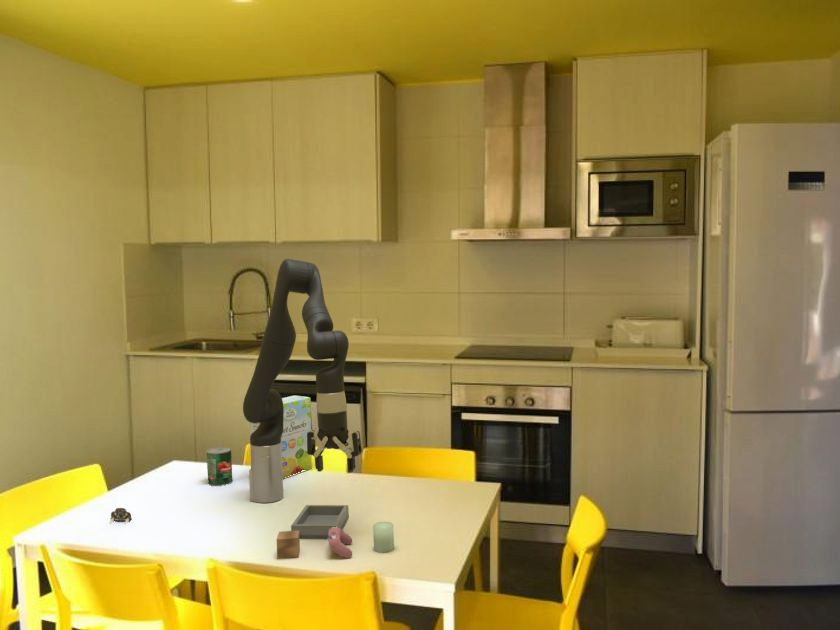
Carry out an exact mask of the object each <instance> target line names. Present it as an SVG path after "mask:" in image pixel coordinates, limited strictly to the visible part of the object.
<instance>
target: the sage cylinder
mask: <svg viewBox="0 0 840 630" xmlns="http://www.w3.org/2000/svg"><path fill="white" fill-rule="evenodd" d="M372 531H373V532H372V533H373V534H372V535H373V536H372V539H373V551H374V552H376V553H379V554H386V553H391V552H393V551H394V550H395V540H394V537H395V536H394V531H395V530H394V524H393V523H392V522H390V521H379V522H375V523H374V524H373V525H372Z"/></svg>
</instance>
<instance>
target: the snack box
mask: <svg viewBox="0 0 840 630" xmlns="http://www.w3.org/2000/svg"><path fill="white" fill-rule="evenodd" d="M281 398H282V401H283V409H284V415H283V433H282V436H281V449H282V474H283V478H285V477H287V478H289V477H288V476H290V475H293V474H296V473H298V472H301V471H302V470H307V471H309V470H312V469H313V467H312V466H313V465H312V461H313V460H312V455H308V453H307V433H308V432H310V431H312V409H311V407H312V406H311V404H312V403H311V402H312V400H311V397H309V396H305V395H304V396H303V395H302V396H301V395H290V396H287V397H286V396H285V397H281ZM249 424H250V433H249V434H250V436H251V434H252V433H253V432H254V431H255V430H256V429H257V428H258V426H259V425H260V423H250V422H249ZM250 436H249V437H250ZM296 475H297V474H296ZM293 476H294V475H293ZM290 477H291V476H290ZM285 479H286V478H285Z"/></svg>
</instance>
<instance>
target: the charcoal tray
mask: <svg viewBox="0 0 840 630" xmlns="http://www.w3.org/2000/svg"><path fill="white" fill-rule="evenodd" d="M349 510H350V509H349V504H306V505H305V506H304V507H303V509H302V510H301V512H300V513H299V514H298V515H297V516H296V518H295V520H294V521H293V522H292V523H291V525H290V529H291V530H290V531H299V539H301V540H304V539H306V540H328V538H329V535H328V531H329V529H331V528H332V527H336V526H337V527H338V528H340V529H341V530H342V531H343V530H344V527H345V525H346V523H347V521H348V520H349V518H350V517H349V516H350V515H349V513H350V512H349Z"/></svg>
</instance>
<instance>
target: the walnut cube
mask: <svg viewBox="0 0 840 630" xmlns="http://www.w3.org/2000/svg"><path fill="white" fill-rule="evenodd" d="M276 537H277V538H276V555H277V556H276V557H277V558H276V559H277V560H284V559H285V560H287V559H288V560H289V559H298V558H299V555H300V551H301V546H300V544H301V543H300V542H301V541H300V539H299V531H291V530H289V531H287V530H286V531H284V530H283V531H278V533H277V536H276Z"/></svg>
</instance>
